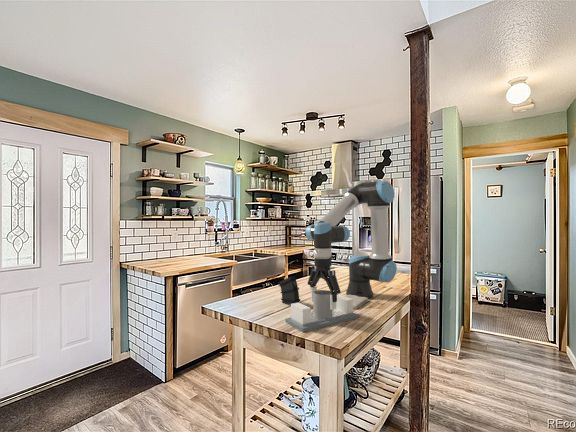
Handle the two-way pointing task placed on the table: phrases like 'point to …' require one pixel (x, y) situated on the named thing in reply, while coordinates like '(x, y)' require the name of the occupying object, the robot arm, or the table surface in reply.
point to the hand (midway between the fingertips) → (323, 305)
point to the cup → (321, 304)
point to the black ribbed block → (289, 291)
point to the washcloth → (357, 301)
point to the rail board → (321, 324)
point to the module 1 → (301, 313)
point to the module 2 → (344, 304)
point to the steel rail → (315, 319)
